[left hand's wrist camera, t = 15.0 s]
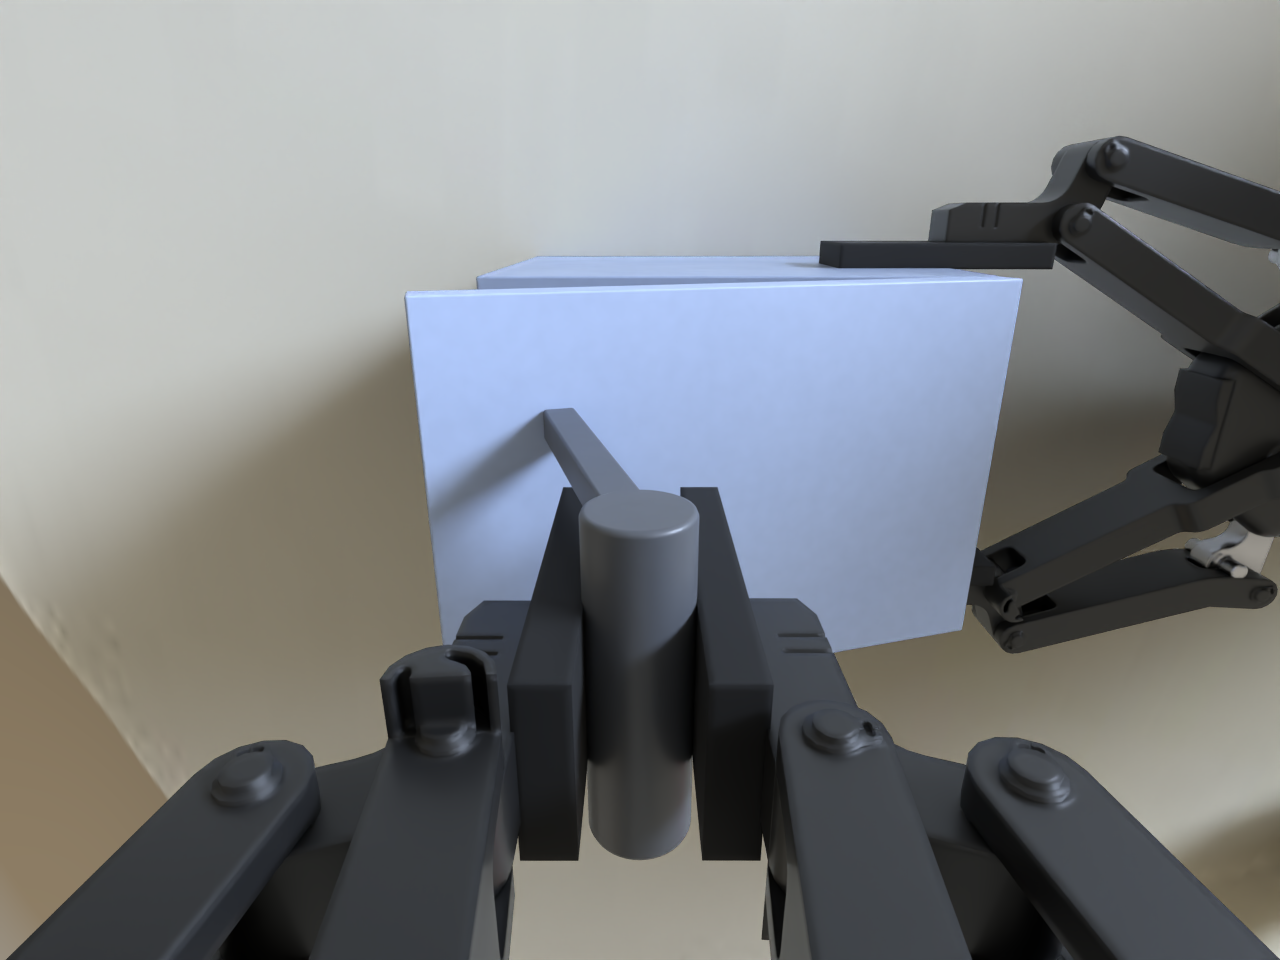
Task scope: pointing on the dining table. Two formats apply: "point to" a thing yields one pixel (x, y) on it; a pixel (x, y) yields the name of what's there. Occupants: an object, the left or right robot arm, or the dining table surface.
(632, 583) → the lid
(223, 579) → the dining table surface
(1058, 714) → the dining table surface
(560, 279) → the chest
